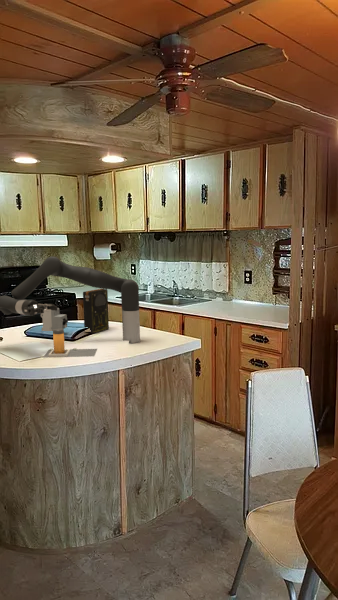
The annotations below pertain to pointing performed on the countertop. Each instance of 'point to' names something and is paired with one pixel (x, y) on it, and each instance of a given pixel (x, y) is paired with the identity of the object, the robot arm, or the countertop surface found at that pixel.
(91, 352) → the board
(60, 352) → the post
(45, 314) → the circuit breaker
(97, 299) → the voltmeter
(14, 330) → the countertop surface
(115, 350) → the countertop surface
